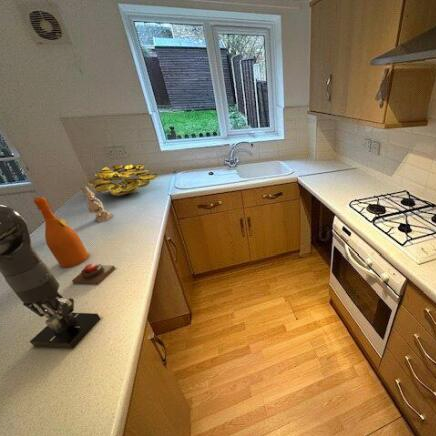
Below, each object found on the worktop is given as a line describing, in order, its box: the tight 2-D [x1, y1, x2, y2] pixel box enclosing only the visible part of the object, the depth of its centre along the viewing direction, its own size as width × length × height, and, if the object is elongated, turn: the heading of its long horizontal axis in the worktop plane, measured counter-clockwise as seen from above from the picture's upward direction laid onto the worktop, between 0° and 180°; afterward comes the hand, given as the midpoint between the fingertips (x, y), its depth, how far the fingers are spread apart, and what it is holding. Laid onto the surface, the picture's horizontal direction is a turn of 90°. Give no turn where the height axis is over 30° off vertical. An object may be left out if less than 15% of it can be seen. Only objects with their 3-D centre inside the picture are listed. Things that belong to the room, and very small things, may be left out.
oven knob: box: [44, 310, 75, 334], centre depth 69 cm, size 5×2×5 cm, turn 175°
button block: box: [71, 263, 116, 285], centre depth 93 cm, size 10×9×4 cm
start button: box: [83, 263, 97, 273], centre depth 92 cm, size 4×4×2 cm
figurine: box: [81, 186, 113, 223], centre depth 132 cm, size 9×8×20 cm
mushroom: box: [86, 163, 158, 196], centre depth 170 cm, size 41×45×17 cm
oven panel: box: [29, 312, 101, 350], centre depth 71 cm, size 12×10×3 cm
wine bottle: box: [32, 196, 89, 268], centre depth 96 cm, size 10×10×30 cm
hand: (64, 324), depth 70 cm, fingers closed on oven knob, 2 cm apart
